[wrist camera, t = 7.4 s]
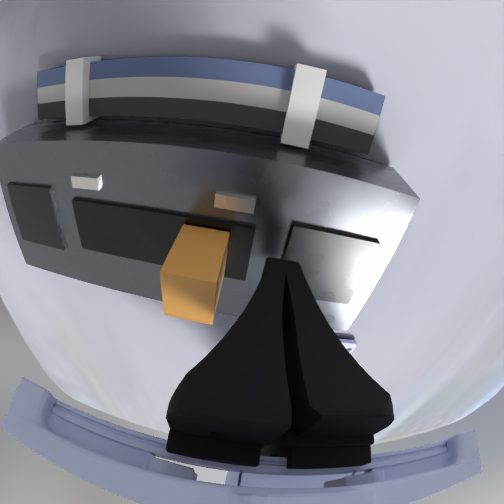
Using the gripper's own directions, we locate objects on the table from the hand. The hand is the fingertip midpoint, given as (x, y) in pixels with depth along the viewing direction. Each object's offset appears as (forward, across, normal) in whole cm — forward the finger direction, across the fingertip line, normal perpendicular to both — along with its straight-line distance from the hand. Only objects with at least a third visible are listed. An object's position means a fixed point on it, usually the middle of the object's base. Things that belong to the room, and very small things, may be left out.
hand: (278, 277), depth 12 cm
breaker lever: (+1, +3, 0) cm, 3 cm away
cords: (+5, +6, -6) cm, 10 cm away
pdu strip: (+5, +6, 0) cm, 7 cm away
